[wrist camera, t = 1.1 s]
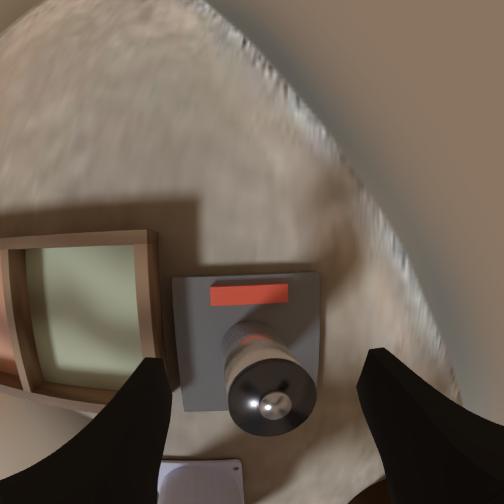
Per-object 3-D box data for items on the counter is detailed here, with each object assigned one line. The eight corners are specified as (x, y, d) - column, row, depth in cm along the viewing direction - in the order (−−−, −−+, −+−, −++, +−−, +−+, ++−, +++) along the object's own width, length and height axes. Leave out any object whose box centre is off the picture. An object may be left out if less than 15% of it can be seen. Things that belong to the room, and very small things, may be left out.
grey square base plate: (312, 394, 21) (318, 403, 19) (185, 405, 19) (183, 415, 18) (315, 271, 21) (323, 272, 19) (173, 276, 19) (170, 278, 18)
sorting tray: (170, 394, 19) (165, 418, 16) (-27, 364, 16) (-46, 375, 13) (157, 232, 19) (146, 229, 16) (-43, 244, 16) (-66, 244, 12)
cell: (278, 371, 19) (316, 433, 11) (222, 375, 19) (232, 444, 11) (278, 318, 19) (322, 361, 11) (219, 321, 19) (226, 371, 11)
